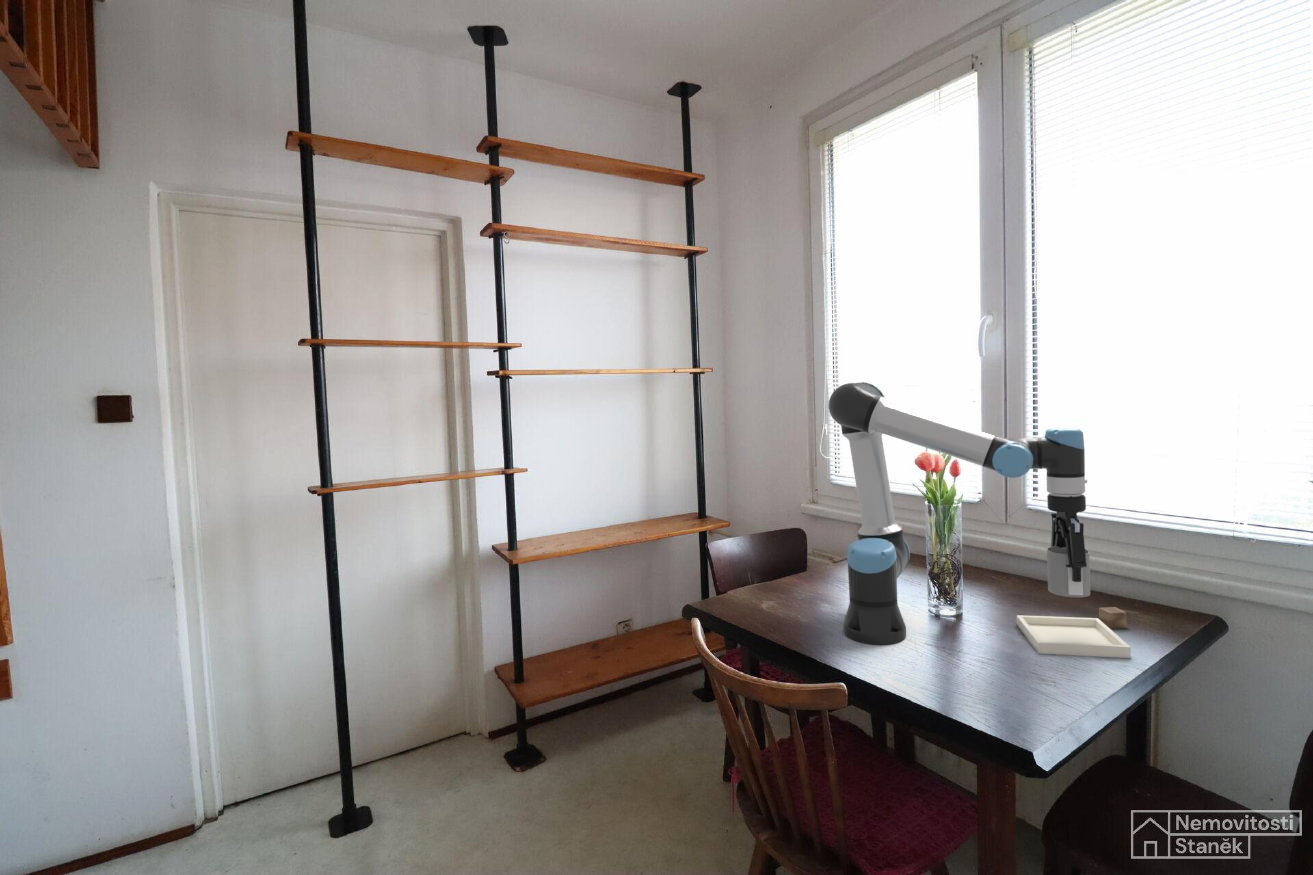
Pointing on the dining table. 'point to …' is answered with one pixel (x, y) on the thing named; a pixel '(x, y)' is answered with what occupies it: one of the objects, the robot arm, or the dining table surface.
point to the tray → (1072, 636)
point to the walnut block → (1113, 617)
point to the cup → (1064, 572)
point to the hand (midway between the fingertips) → (1068, 588)
